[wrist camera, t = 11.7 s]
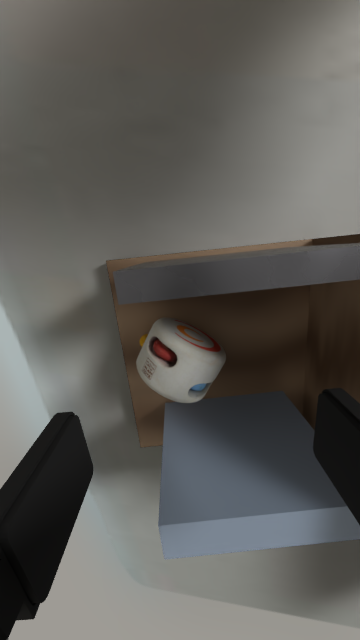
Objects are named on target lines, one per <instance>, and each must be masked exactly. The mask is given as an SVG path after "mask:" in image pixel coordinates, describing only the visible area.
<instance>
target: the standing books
mask: <svg viewBox="0 0 360 640" xmlns="http://www.w3.org/2000/svg"><path fill="white" fill-rule="evenodd" d="M314 432H315V431H314V429H313V428H312V427H311V426H310V424H309V423H308V422H307V421H306V419H305V418H304V417H303V416H302V414H301V413H300V412H299V411H298V409H297V408H296V407H295V406H294V404H293V403H292V402H291V401H290V399H289V398H288V397H287V396H286V394H285V393H284V392H283V391H276V392H266V393H257V394H247V395H237V396H228V397H218V398H208V399H201V400H199V401H197V402H193V403H180V402H170V403H165V415H164V433H163V452H162V470H161V488H160V506H159V524H158V526H159V532H160V537H161V543H162V548H163V554H164V559H174V558H183V557H193V556H203V555H213V554H222V553H232V552H242V551H251V550H261V549H271V548H280V547H290V546H300V545H309V544H319V543H329V542H338V541H348V540H358V539H360V525H359V524H358V522H357V520H356V519H355V517H354V516H353V514H352V513H351V511H350V510H349V508H348V507H347V505H346V503H345V502H344V500H343V499H342V497H341V496H340V494H339V493H338V491H337V490H336V488H335V487H334V485H333V483H332V482H331V480H330V479H329V477H328V476H327V474H326V473H325V471H324V470H323V468H322V466H321V465H320V463H319V462H318V460H317V459H316V457H315V455H314V452H313V442H314Z"/></svg>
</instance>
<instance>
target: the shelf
mask: <svg viewBox="0 0 360 640" xmlns="http://www.w3.org/2000/svg"><path fill="white" fill-rule="evenodd" d="M351 243H360V234H356V235H347V236H337V237H328V238H318V239H309V240H299V241H290V242H280V243H271V244H261V245H252V246H242V247H233V248H223V249H213V250H204V251H194V252H185V253H175V254H166V255H156V256H147V257H137V258H128V259H118V260H109V261H106V263H107V268H108V274H109V279H110V284H111V290H112V295H113V301H114V306H115V311H116V317H117V322H118V327H119V333H120V338H121V344H122V349H123V354H124V360H125V365H126V371H127V376H128V381H129V387H130V392H131V397H132V403H133V408H134V414H135V419H136V424H137V430H138V435H139V441H140V446H141V447H150V446H160V445H163V433H164V415H165V403H170V402H176V401H173V400H170V399H167V398H165V397H163V396H162V395H160V394H158V393H157V392H155V391H154V390H152V389H151V388H150V387H149V386H148V385H147V384H146V383H145V382H144V381H143V379H142V378H141V376H140V375H139V372H138V370H137V365H136V361H137V358H138V355H139V353H140V351H141V349H142V347H141V345H140V338H141V337H142V336H143V335H145V334H149V332H150V330H151V328H152V326H153V324H154V323H155V322H156V321H157V320H158V319H161V318H174V319H178V320H181V321H184V322H186V323H189V324H191V325H193V326H195V327H197V328H199V329H200V330H202V331H204V332H205V333H207V334H208V335H210V336H211V337H212V338H214V339H215V340H216V341H217V342H218V343H219V344H220V345H221V346H222V347H223V349H224V351H225V354H226V361H225V363H224V365H223V367H222V368H221V370H220V372H219V374H218V375H217V377H216V379H215V380H214V381H213V382H212V384H211V385H210V387H209V389H208V391H207V393H206V394H205V396H204V397H203V398H202V399H208V398H218V397H228V396H237V395H247V394H257V393H266V392H276V391H283V392H284V393H285V394H286V396H287V397H288V398H289V399H290V401H291V402H292V403H293V404H294V406H295V407H296V408H297V409H298V411H299V412H300V413H301V414H302V416H303V417H304V418H305V419H306V421H307V422H308V423H309V424H310V426H311V427H312V428H313V429H314V431H315V423H316V413H317V403H318V396H319V394H321V393H322V391H323V390H324V389H332V388H342V389H343V390H345V391H346V392H347V393H348V394H349V395H350V396H352V397H353V398H354V399H355V400H356V401H357V402H359V403H360V280H350V281H341V282H331V283H322V284H312V285H303V286H293V287H284V288H274V289H265V290H255V291H245V292H236V293H226V294H217V295H207V296H198V297H188V298H179V299H169V300H160V301H150V302H140V303H131V304H121V305H119V304H118V299H117V293H116V288H115V282H114V277H113V272H114V271H117V270H120V269H124V268H127V267H131V266H134V265H137V264H141V263H144V262H151V261H160V260H170V259H179V258H189V257H198V256H208V255H217V254H227V253H236V252H246V251H255V250H265V249H275V248H284V247H299V246H316V245H333V244H351Z"/></svg>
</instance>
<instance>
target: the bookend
mask: <svg viewBox="0 0 360 640" xmlns="http://www.w3.org/2000/svg"><path fill="white" fill-rule="evenodd" d="M113 277H114V282H115V288H116V293H117V299H118V304H119V305H121V304H131V303H140V302H150V301H160V300H169V299H179V298H188V297H198V296H207V295H217V294H226V293H236V292H245V291H255V290H265V289H274V288H284V287H293V286H303V285H312V284H322V283H331V282H341V281H350V280H360V243H351V244H333V245H316V246H299V247H284V248H275V249H265V250H255V251H246V252H236V253H227V254H217V255H208V256H198V257H189V258H179V259H170V260H160V261H151V262H144V263H141V264H137V265H134V266H131V267H127V268H124V269H120V270H117V271H114V272H113Z"/></svg>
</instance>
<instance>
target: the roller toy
mask: <svg viewBox="0 0 360 640" xmlns="http://www.w3.org/2000/svg"><path fill="white" fill-rule="evenodd" d="M140 345H141V347H142V349H141V351H140V353H139V355H138V358H137V361H136V365H137V370H138V372H139V375H140V376H141V378H142V379H143V381H144V382H145V383H146V384H147V385H148V386H149V387H150V388H151V389H152V390H154V391H155V392H157V393H158V394H160V395H162V396H163V397H165V398H167V399H170V400H173V401H176V402H180V403H193V402H197V401H199V400H201V399H202V398H203V397H204V396H205V394H206V393H207V391H208V389H209V387H210V385H211V384H212V382H213V381H214V380H215V379H216V377H217V375H218V374H219V372H220V370H221V368H222V367H223V365H224V363H225V361H226V354H225V351H224V349H223V347H222V346H221V345H220V344H219V343H218V342H217V341H216V340H215V339H214V338H212V337H211V336H210V335H208V334H207V333H205V332H204V331H202V330H200V329H199V328H197V327H195V326H193V325H191V324H189V323H186V322H184V321H181V320H178V319H174V318H161V319H158V320H157V321H156V322H155V323H154V324H153V326H152V328H151V330H150V332H149V334H145V335H143V336H142V337H141V338H140Z"/></svg>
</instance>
